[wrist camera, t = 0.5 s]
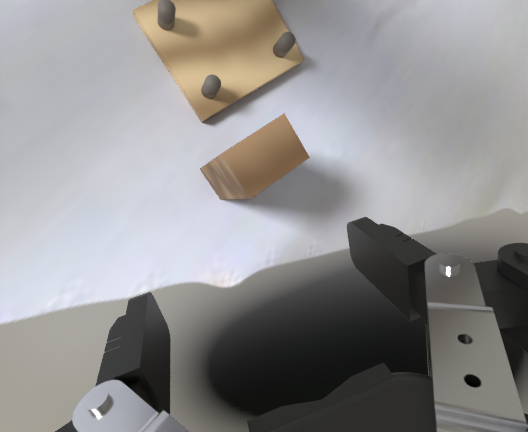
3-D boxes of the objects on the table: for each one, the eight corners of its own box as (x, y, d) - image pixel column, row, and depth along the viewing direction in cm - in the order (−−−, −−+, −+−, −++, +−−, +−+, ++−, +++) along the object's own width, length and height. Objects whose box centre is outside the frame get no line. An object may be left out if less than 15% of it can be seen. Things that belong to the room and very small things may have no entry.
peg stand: (133, 16, 32) (131, -6, 29) (245, -37, 36) (255, -63, 32) (201, 122, 35) (207, 114, 31) (299, 63, 38) (314, 50, 35)
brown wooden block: (199, 168, 35) (221, 153, 24) (243, 140, 36) (284, 113, 25) (220, 199, 36) (250, 198, 24) (262, 170, 37) (309, 157, 26)
